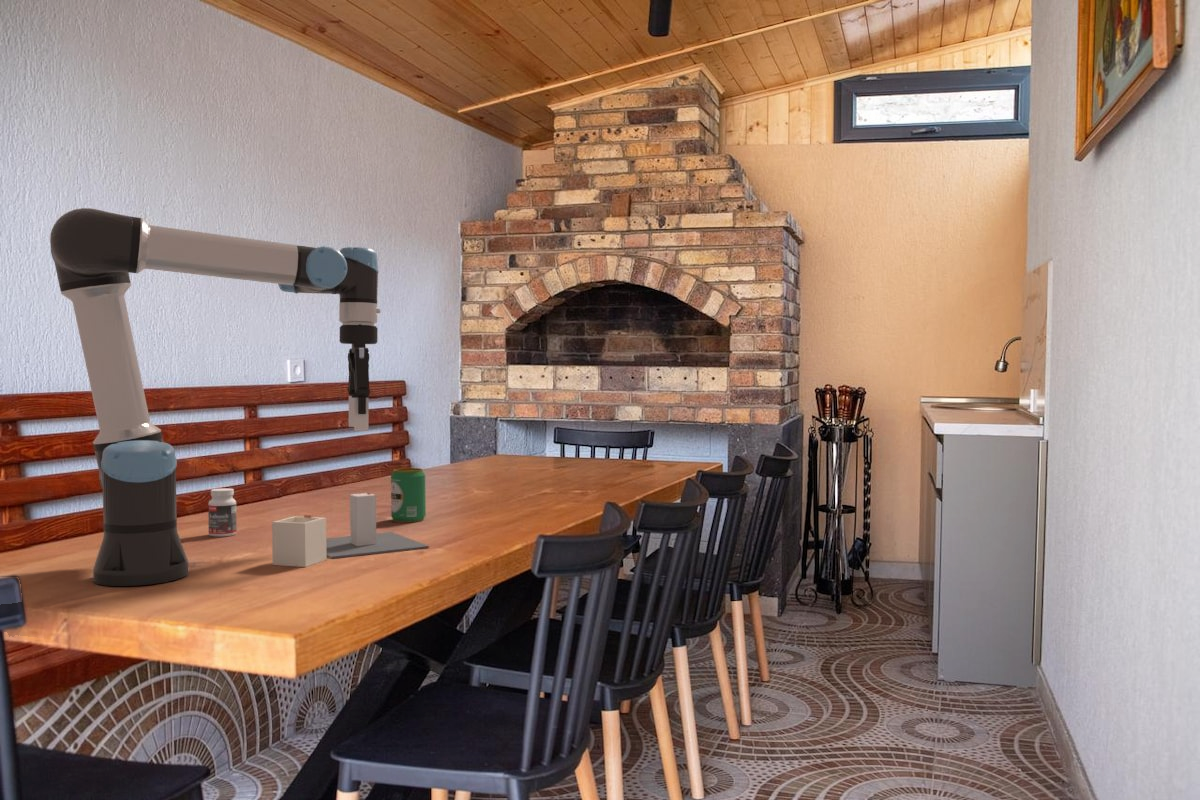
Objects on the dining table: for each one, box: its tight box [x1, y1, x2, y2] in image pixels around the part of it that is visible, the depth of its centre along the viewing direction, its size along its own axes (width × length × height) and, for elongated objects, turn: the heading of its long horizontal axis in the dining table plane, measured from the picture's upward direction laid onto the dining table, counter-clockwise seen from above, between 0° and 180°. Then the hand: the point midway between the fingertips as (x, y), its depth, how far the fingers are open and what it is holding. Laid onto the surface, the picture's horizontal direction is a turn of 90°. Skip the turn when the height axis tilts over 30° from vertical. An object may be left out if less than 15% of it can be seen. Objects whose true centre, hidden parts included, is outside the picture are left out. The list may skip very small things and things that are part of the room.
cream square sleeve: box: [271, 513, 328, 568], centre depth 189 cm, size 7×7×8 cm
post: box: [326, 492, 430, 559], centre depth 206 cm, size 20×20×11 cm
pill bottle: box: [207, 487, 238, 538], centre depth 219 cm, size 6×6×10 cm
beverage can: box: [390, 467, 427, 523], centre depth 239 cm, size 8×8×12 cm
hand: (358, 429), depth 206 cm, fingers open, 13 cm apart
